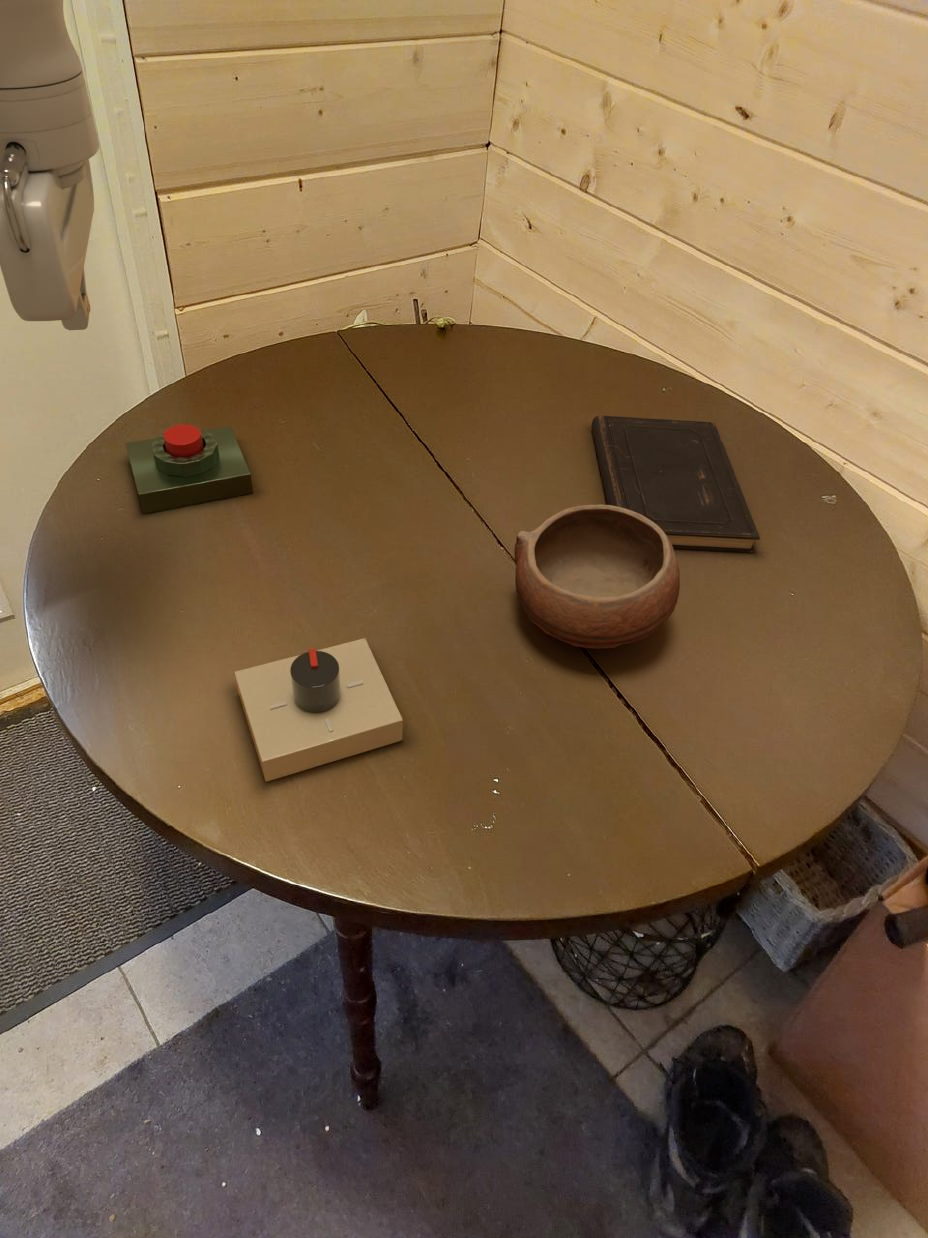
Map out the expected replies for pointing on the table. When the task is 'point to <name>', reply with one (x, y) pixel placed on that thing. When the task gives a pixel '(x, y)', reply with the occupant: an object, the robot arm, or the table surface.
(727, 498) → the old dark book
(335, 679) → the hob knob
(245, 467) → the button box
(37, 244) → the robot arm
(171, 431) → the red push button
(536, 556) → the bowl
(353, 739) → the hob panel
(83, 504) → the table surface
